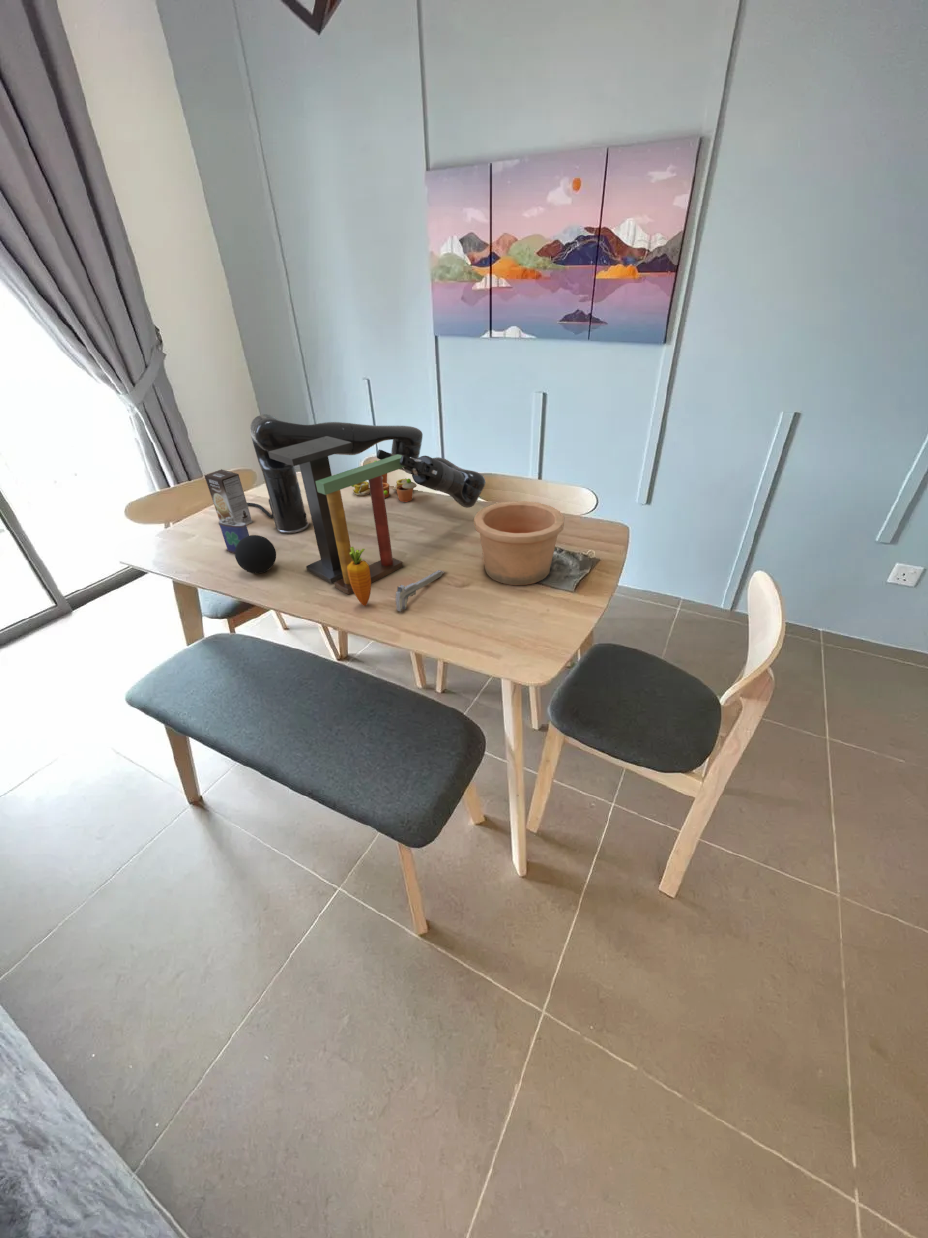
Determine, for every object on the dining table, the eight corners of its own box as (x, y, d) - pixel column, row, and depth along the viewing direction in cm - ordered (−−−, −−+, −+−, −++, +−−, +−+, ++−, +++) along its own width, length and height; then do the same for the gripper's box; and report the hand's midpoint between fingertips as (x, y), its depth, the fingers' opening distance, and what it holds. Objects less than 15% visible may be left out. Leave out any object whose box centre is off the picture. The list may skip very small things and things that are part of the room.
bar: (398, 464, 123) (397, 454, 121) (406, 466, 121) (405, 456, 120) (317, 492, 108) (315, 480, 107) (325, 495, 107) (323, 483, 105)
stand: (348, 552, 139) (325, 435, 121) (372, 563, 133) (353, 442, 115) (298, 574, 129) (266, 451, 111) (323, 587, 123) (293, 459, 105)
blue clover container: (256, 551, 142) (245, 516, 136) (249, 556, 139) (238, 520, 133) (231, 547, 145) (220, 513, 139) (224, 551, 142) (212, 517, 136)
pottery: (503, 600, 115) (504, 544, 107) (460, 562, 132) (458, 511, 124) (577, 576, 123) (583, 523, 115) (528, 543, 140) (530, 494, 131)
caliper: (401, 613, 113) (397, 590, 109) (397, 612, 113) (393, 589, 109) (444, 573, 127) (443, 551, 124) (440, 572, 128) (439, 550, 124)
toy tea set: (347, 495, 177) (342, 468, 171) (372, 481, 188) (368, 456, 182) (408, 505, 166) (405, 477, 161) (431, 490, 178) (429, 463, 172)
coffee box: (219, 523, 159) (202, 474, 150) (236, 516, 164) (220, 468, 155) (237, 529, 155) (221, 479, 146) (253, 522, 160) (239, 473, 151)
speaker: (236, 570, 133) (224, 536, 127) (272, 558, 138) (263, 525, 132) (248, 584, 126) (236, 549, 120) (285, 571, 131) (276, 537, 125)
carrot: (355, 600, 118) (344, 543, 109) (376, 599, 118) (366, 542, 110) (353, 612, 114) (341, 554, 105) (374, 610, 114) (364, 552, 105)
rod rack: (389, 560, 134) (376, 469, 120) (403, 566, 131) (391, 473, 117) (335, 587, 123) (314, 490, 109) (348, 594, 120) (328, 496, 106)
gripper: (418, 455, 134) (374, 436, 121) (457, 465, 126) (414, 445, 113) (411, 482, 135) (366, 466, 122) (448, 493, 127) (405, 477, 114)
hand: (389, 456), depth 118 cm, fingers open, 8 cm apart
